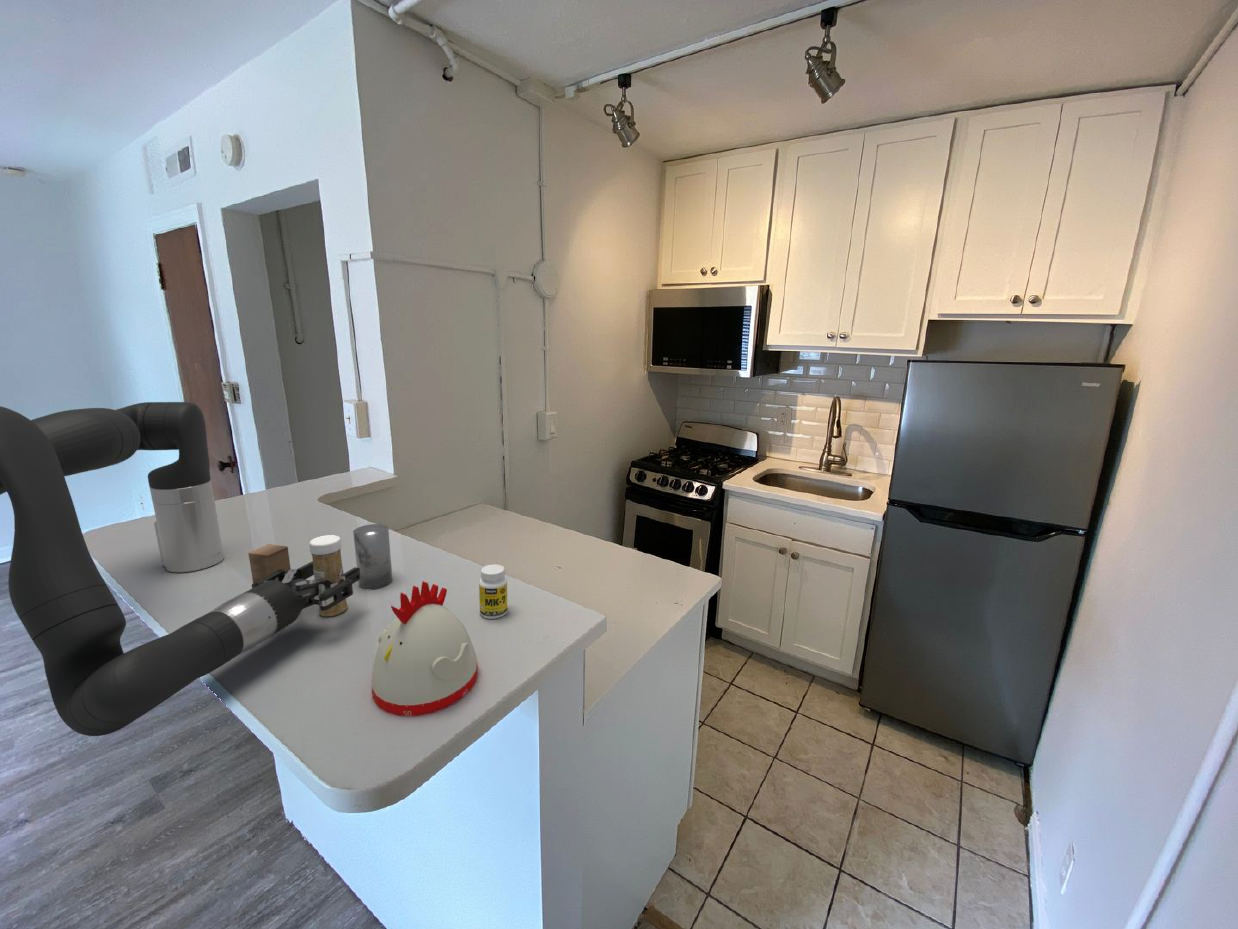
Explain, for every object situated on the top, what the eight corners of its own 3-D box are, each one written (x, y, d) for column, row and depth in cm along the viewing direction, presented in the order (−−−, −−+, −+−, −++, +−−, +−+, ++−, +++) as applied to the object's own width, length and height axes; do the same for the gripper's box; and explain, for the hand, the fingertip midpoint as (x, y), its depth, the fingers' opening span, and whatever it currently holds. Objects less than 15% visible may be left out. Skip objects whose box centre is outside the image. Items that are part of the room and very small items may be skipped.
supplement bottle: (483, 622, 85) (481, 577, 83) (477, 609, 89) (475, 566, 87) (510, 616, 87) (509, 572, 85) (503, 603, 91) (502, 561, 89)
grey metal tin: (351, 587, 95) (345, 533, 92) (372, 573, 101) (368, 522, 98) (378, 591, 94) (374, 537, 91) (399, 577, 100) (395, 526, 97)
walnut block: (256, 605, 88) (248, 552, 85) (276, 594, 92) (268, 544, 89) (275, 608, 87) (267, 555, 85) (294, 597, 91) (287, 546, 88)
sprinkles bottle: (349, 613, 86) (341, 541, 83) (318, 620, 84) (309, 546, 81) (346, 601, 90) (339, 532, 87) (317, 608, 87) (308, 537, 84)
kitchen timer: (351, 689, 68) (340, 590, 64) (434, 640, 80) (429, 554, 76) (416, 732, 61) (408, 623, 57) (497, 672, 73) (495, 578, 69)
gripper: (291, 600, 69) (371, 554, 85) (208, 587, 72) (300, 544, 87) (297, 648, 71) (374, 594, 86) (216, 633, 74) (305, 583, 89)
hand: (337, 569), depth 87 cm, fingers open, 8 cm apart
